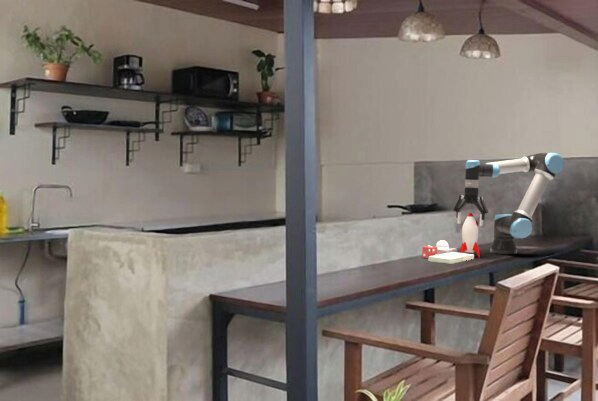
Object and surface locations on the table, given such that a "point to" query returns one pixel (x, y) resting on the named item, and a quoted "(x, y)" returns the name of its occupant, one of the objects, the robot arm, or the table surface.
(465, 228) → the rocket
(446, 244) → the dome
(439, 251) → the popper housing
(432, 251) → the red die
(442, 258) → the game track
